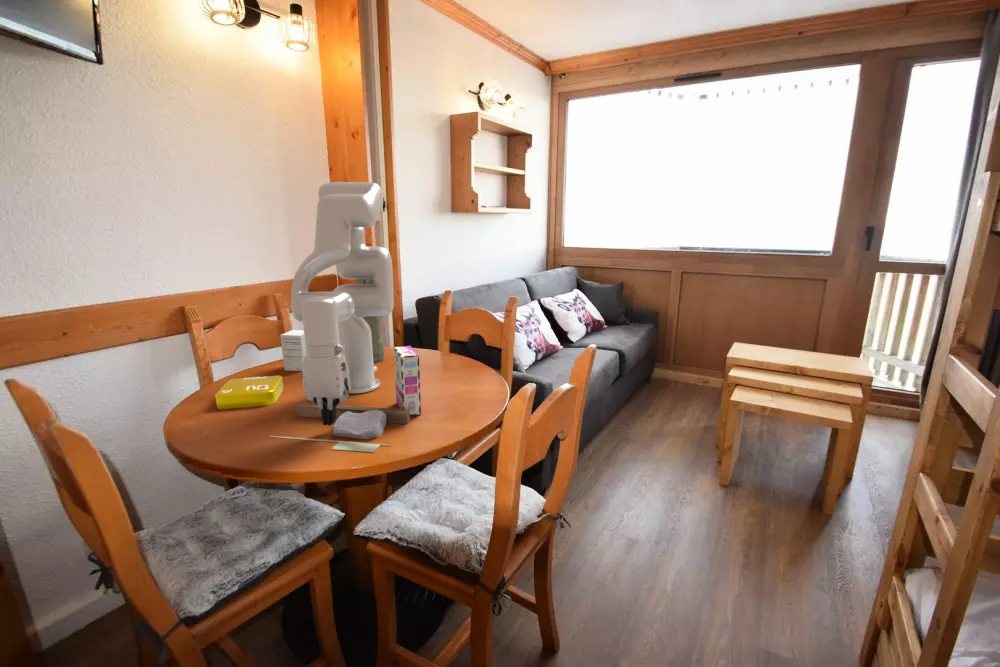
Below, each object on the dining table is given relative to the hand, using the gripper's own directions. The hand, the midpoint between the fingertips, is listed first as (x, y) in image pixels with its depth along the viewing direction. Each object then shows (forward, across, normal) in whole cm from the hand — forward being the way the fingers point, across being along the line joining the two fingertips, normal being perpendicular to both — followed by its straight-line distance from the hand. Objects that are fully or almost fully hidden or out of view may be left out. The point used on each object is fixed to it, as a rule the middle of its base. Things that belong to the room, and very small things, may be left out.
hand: (329, 423), depth 115 cm
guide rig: (+2, -2, -1) cm, 3 cm away
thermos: (+2, +16, -59) cm, 61 cm away
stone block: (+3, -7, -2) cm, 8 cm away
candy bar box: (+3, -14, -17) cm, 22 cm away
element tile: (+3, +34, -18) cm, 39 cm away
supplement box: (+2, +37, -46) cm, 58 cm away
